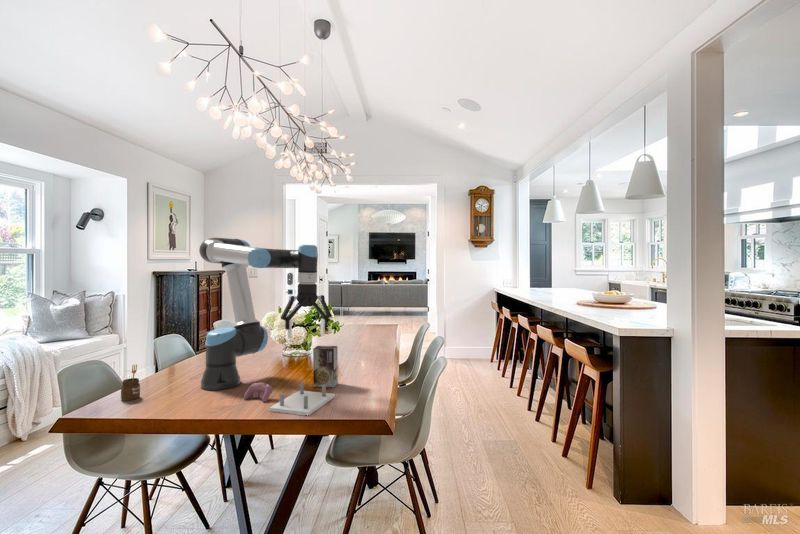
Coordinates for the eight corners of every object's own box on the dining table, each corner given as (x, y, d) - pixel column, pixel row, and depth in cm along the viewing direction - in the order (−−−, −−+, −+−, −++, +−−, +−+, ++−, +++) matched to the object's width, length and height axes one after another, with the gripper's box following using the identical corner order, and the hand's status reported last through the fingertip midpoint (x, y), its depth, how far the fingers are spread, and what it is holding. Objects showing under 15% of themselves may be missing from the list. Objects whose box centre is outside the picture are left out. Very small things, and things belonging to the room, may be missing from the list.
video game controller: (270, 403, 146) (276, 384, 149) (263, 401, 142) (269, 382, 145) (249, 400, 149) (254, 382, 152) (241, 398, 145) (247, 379, 148)
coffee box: (338, 383, 168) (338, 345, 168) (334, 387, 161) (334, 348, 161) (317, 382, 168) (317, 345, 169) (312, 387, 162) (312, 348, 162)
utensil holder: (117, 401, 143) (117, 368, 143) (126, 396, 149) (126, 364, 149) (135, 400, 144) (135, 368, 144) (143, 395, 150) (143, 364, 150)
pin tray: (269, 411, 134) (269, 395, 134) (299, 393, 154) (299, 380, 154) (308, 415, 130) (308, 400, 130) (334, 397, 149) (334, 383, 149)
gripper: (278, 284, 147) (277, 340, 147) (340, 283, 160) (339, 335, 160) (273, 283, 153) (272, 337, 153) (333, 282, 166) (332, 332, 166)
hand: (306, 336), depth 157 cm, fingers open, 13 cm apart
